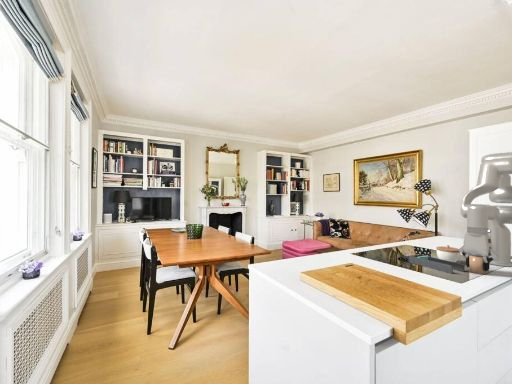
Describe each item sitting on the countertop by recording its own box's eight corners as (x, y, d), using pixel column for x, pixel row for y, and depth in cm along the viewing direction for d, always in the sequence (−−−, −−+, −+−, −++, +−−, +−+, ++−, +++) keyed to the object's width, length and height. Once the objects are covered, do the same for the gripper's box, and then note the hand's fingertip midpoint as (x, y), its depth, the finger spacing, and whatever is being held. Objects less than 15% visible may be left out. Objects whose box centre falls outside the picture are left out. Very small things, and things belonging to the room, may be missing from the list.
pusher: (426, 262, 137) (426, 255, 137) (428, 262, 136) (428, 256, 136) (417, 263, 134) (417, 256, 134) (419, 263, 133) (419, 257, 133)
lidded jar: (461, 266, 131) (461, 248, 131) (435, 262, 137) (435, 245, 137) (460, 262, 139) (460, 245, 139) (436, 258, 146) (436, 242, 146)
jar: (473, 269, 124) (473, 251, 124) (489, 273, 118) (489, 253, 118) (465, 271, 122) (465, 252, 122) (481, 274, 116) (481, 255, 116)
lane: (420, 260, 142) (420, 254, 142) (464, 271, 121) (464, 264, 121) (408, 262, 138) (408, 255, 138) (451, 273, 118) (451, 266, 118)
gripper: (504, 233, 114) (505, 273, 113) (461, 228, 130) (461, 263, 129) (495, 234, 111) (495, 275, 111) (452, 229, 127) (452, 264, 127)
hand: (477, 268), depth 120 cm, fingers closed on jar, 6 cm apart
